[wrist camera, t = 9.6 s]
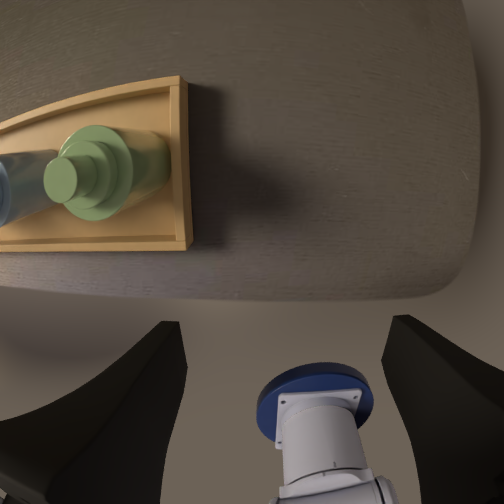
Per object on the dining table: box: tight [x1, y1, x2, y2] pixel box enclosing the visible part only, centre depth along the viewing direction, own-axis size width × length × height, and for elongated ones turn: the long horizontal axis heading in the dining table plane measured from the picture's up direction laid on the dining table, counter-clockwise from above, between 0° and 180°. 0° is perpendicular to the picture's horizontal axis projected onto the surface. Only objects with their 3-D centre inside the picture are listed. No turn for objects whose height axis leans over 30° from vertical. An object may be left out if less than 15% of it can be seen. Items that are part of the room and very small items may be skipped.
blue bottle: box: [0, 149, 58, 228], centre depth 14 cm, size 4×4×8 cm
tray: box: [0, 76, 194, 252], centre depth 17 cm, size 10×22×2 cm, turn 91°
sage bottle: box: [44, 125, 172, 221], centre depth 13 cm, size 4×4×8 cm
